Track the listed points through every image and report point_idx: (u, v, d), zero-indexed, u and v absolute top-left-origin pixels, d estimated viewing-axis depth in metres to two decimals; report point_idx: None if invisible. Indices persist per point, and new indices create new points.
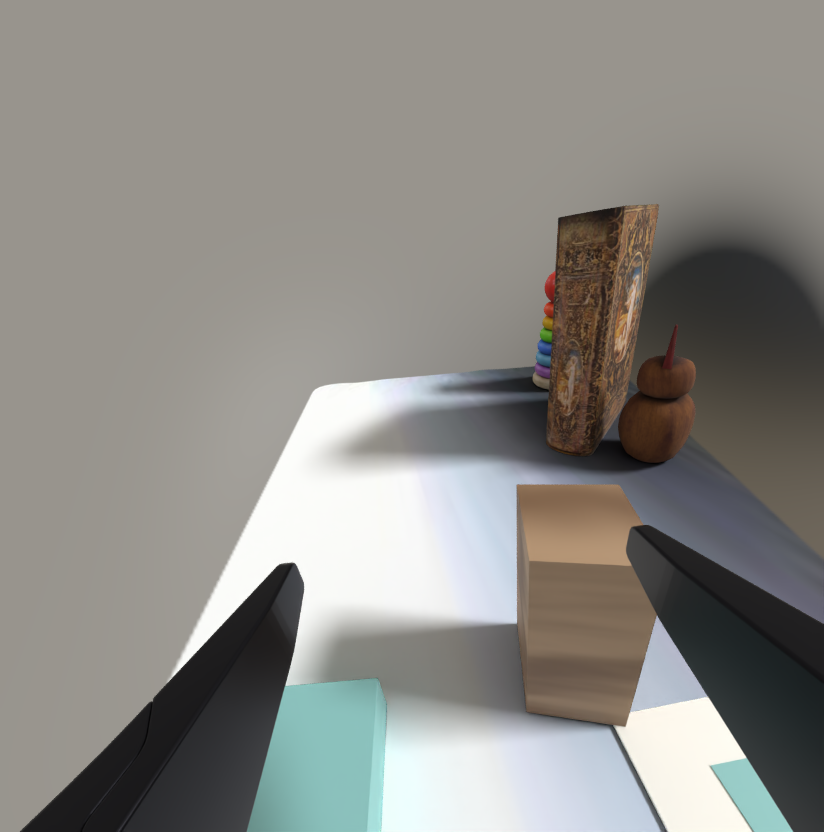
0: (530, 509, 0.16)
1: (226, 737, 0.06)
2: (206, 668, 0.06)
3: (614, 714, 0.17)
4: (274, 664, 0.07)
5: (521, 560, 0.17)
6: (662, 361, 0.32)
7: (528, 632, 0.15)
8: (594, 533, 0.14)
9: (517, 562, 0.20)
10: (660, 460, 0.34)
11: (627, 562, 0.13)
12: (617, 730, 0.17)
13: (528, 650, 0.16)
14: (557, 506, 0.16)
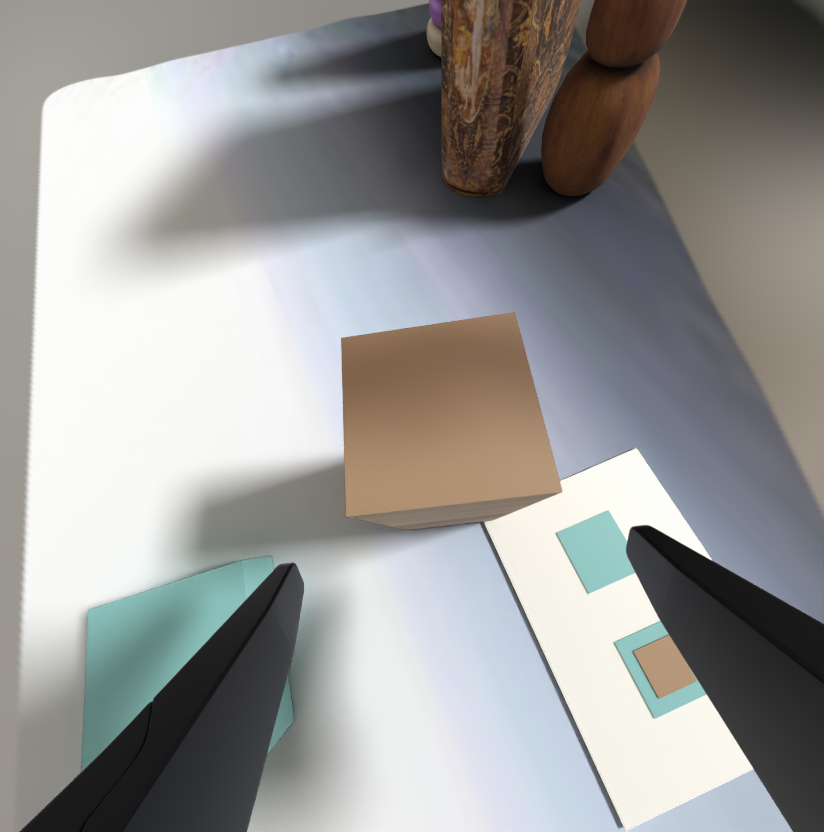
0: (359, 395, 0.09)
1: (226, 737, 0.06)
2: (206, 668, 0.06)
3: (483, 520, 0.18)
4: (274, 664, 0.07)
5: None
6: None
7: (384, 523, 0.12)
8: (459, 435, 0.08)
9: None
10: (586, 191, 0.25)
11: (500, 493, 0.07)
12: (485, 524, 0.18)
13: (390, 526, 0.13)
14: (405, 382, 0.09)
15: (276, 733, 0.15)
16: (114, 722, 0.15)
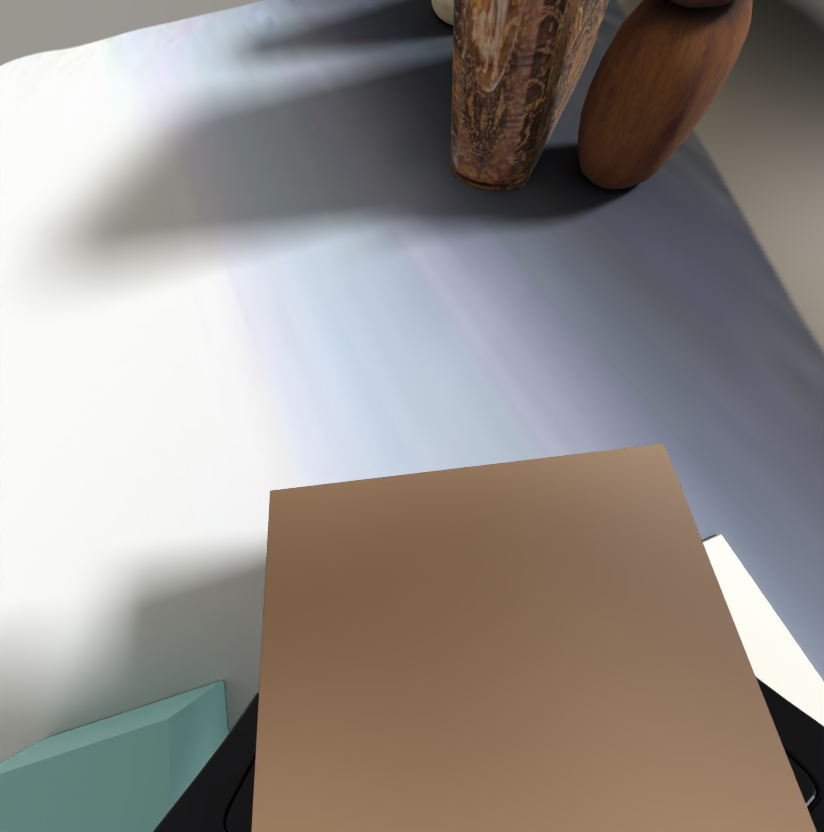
0: (302, 664, 0.04)
1: None
2: None
3: None
4: None
5: None
6: None
7: None
8: None
9: None
10: (634, 183, 0.20)
11: None
12: None
13: None
14: (414, 630, 0.04)
15: None
16: None
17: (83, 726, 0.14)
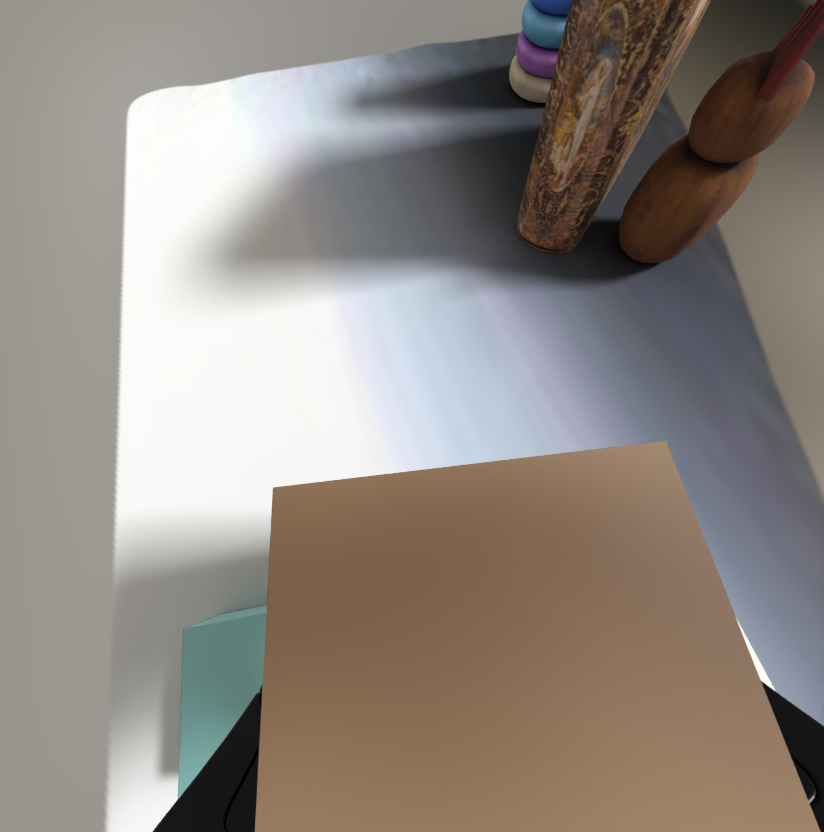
0: (305, 658, 0.04)
1: None
2: None
3: None
4: None
5: None
6: (764, 73, 0.16)
7: None
8: (567, 829, 0.03)
9: None
10: (660, 261, 0.25)
11: None
12: None
13: None
14: (417, 626, 0.04)
15: None
16: (207, 734, 0.17)
17: None
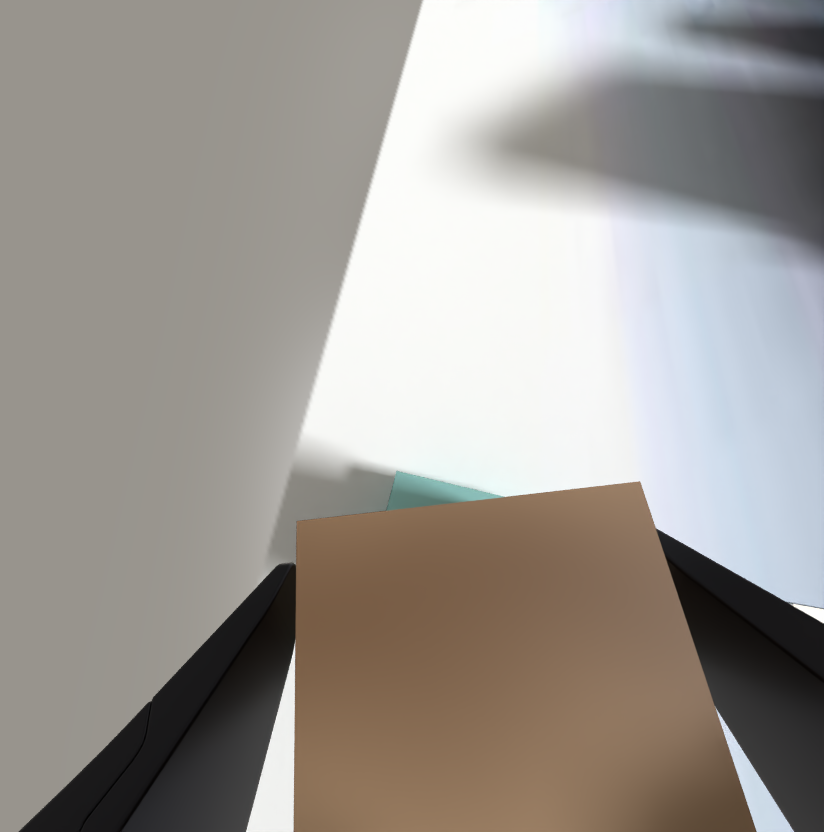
0: (329, 672, 0.04)
1: (225, 737, 0.06)
2: (205, 668, 0.06)
3: None
4: (273, 664, 0.07)
5: None
6: None
7: None
8: (549, 808, 0.04)
9: None
10: None
11: None
12: None
13: None
14: (425, 643, 0.04)
15: None
16: None
17: None
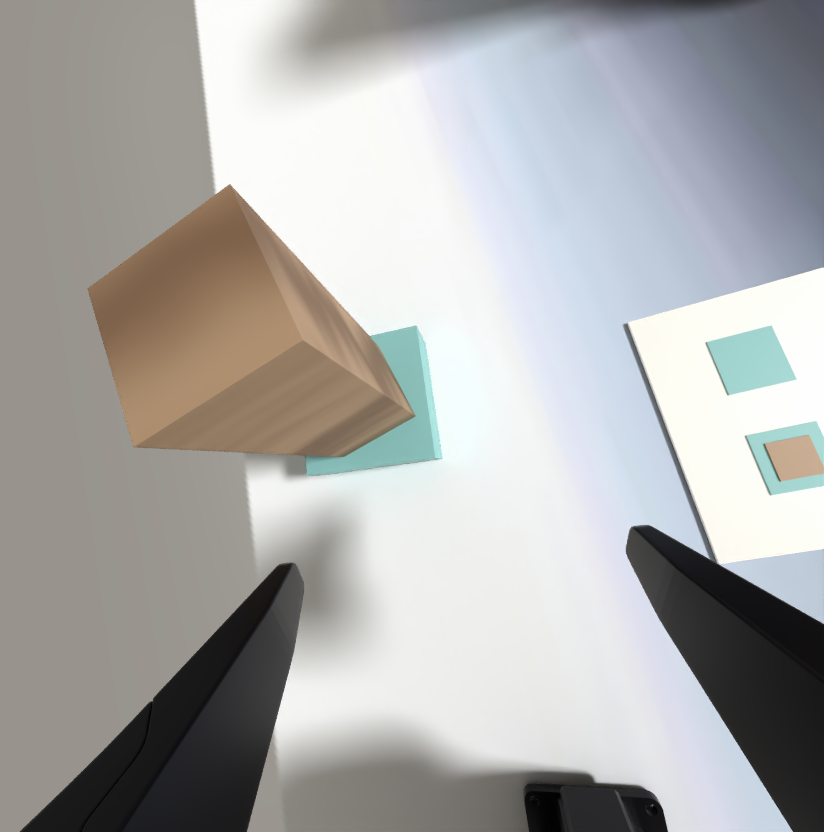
0: (117, 335, 0.09)
1: (226, 737, 0.06)
2: (206, 668, 0.06)
3: (401, 419, 0.18)
4: (274, 664, 0.07)
5: None
6: None
7: (265, 451, 0.13)
8: (207, 330, 0.08)
9: None
10: None
11: (251, 366, 0.07)
12: (631, 331, 0.20)
13: (286, 453, 0.14)
14: (151, 303, 0.08)
15: (437, 453, 0.19)
16: None
17: None
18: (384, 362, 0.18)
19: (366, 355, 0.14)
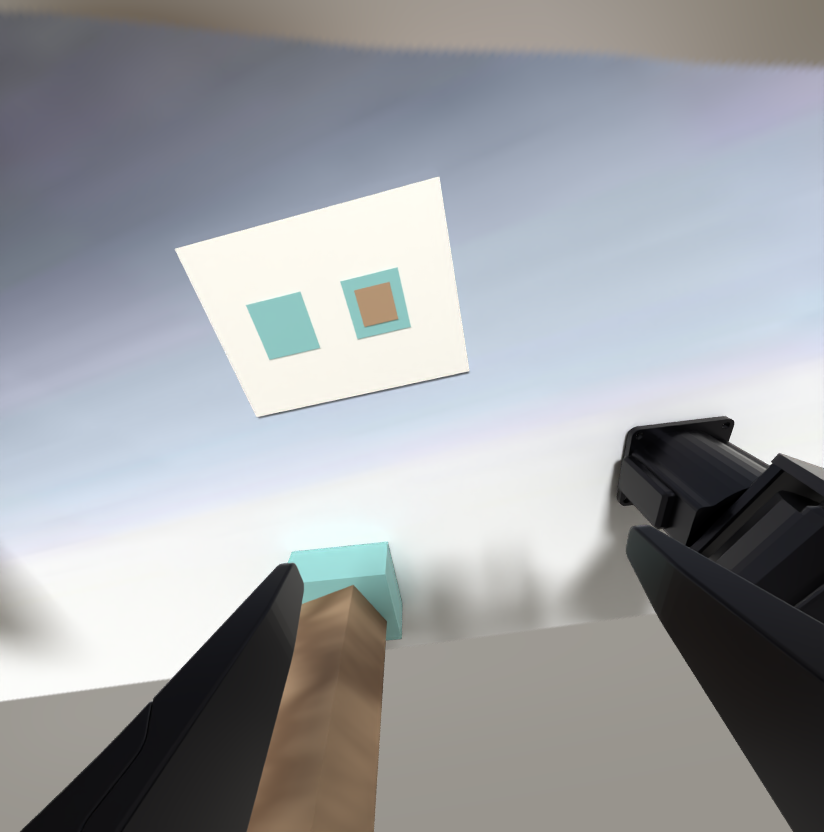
0: None
1: (226, 737, 0.06)
2: (206, 668, 0.06)
3: (356, 602, 0.23)
4: (274, 664, 0.07)
5: None
6: None
7: (378, 740, 0.20)
8: None
9: None
10: None
11: None
12: (264, 414, 0.21)
13: (380, 712, 0.21)
14: None
15: (382, 560, 0.25)
16: None
17: None
18: (312, 614, 0.24)
19: (309, 678, 0.20)
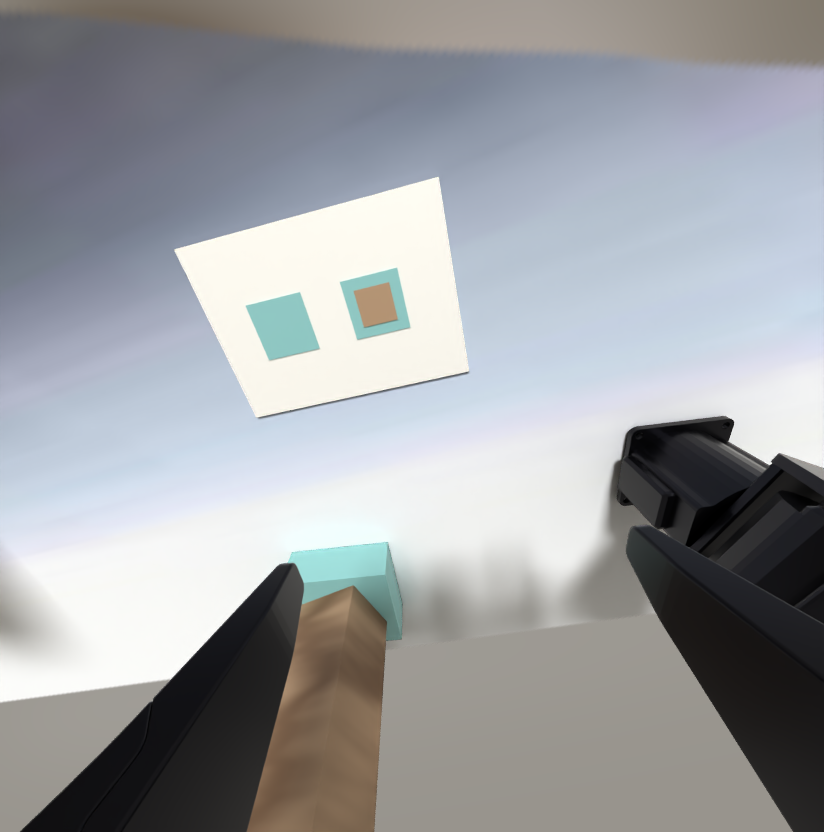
0: None
1: (226, 737, 0.06)
2: (206, 668, 0.06)
3: (356, 603, 0.23)
4: (274, 664, 0.07)
5: None
6: None
7: (378, 741, 0.20)
8: None
9: None
10: None
11: None
12: (264, 414, 0.21)
13: (380, 712, 0.21)
14: None
15: (382, 560, 0.25)
16: None
17: None
18: (312, 614, 0.24)
19: (309, 678, 0.20)
